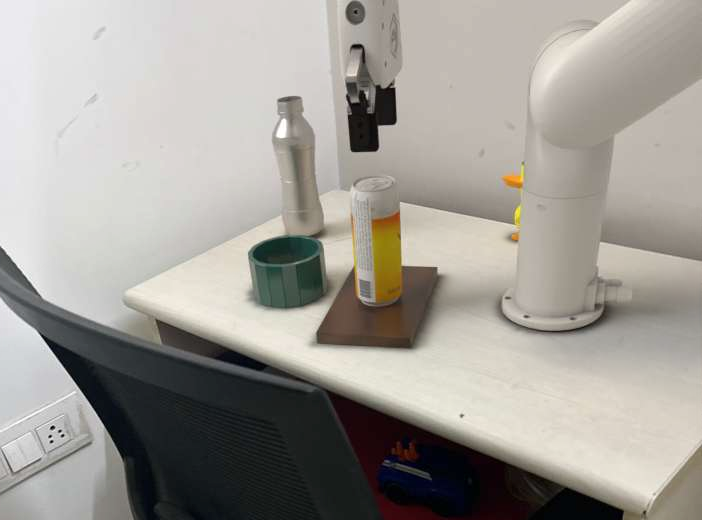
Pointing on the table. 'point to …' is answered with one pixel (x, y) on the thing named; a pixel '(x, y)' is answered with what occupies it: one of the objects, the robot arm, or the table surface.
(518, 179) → the toy figure
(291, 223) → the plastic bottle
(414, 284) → the board
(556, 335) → the table surface
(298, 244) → the crock
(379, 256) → the beer can
